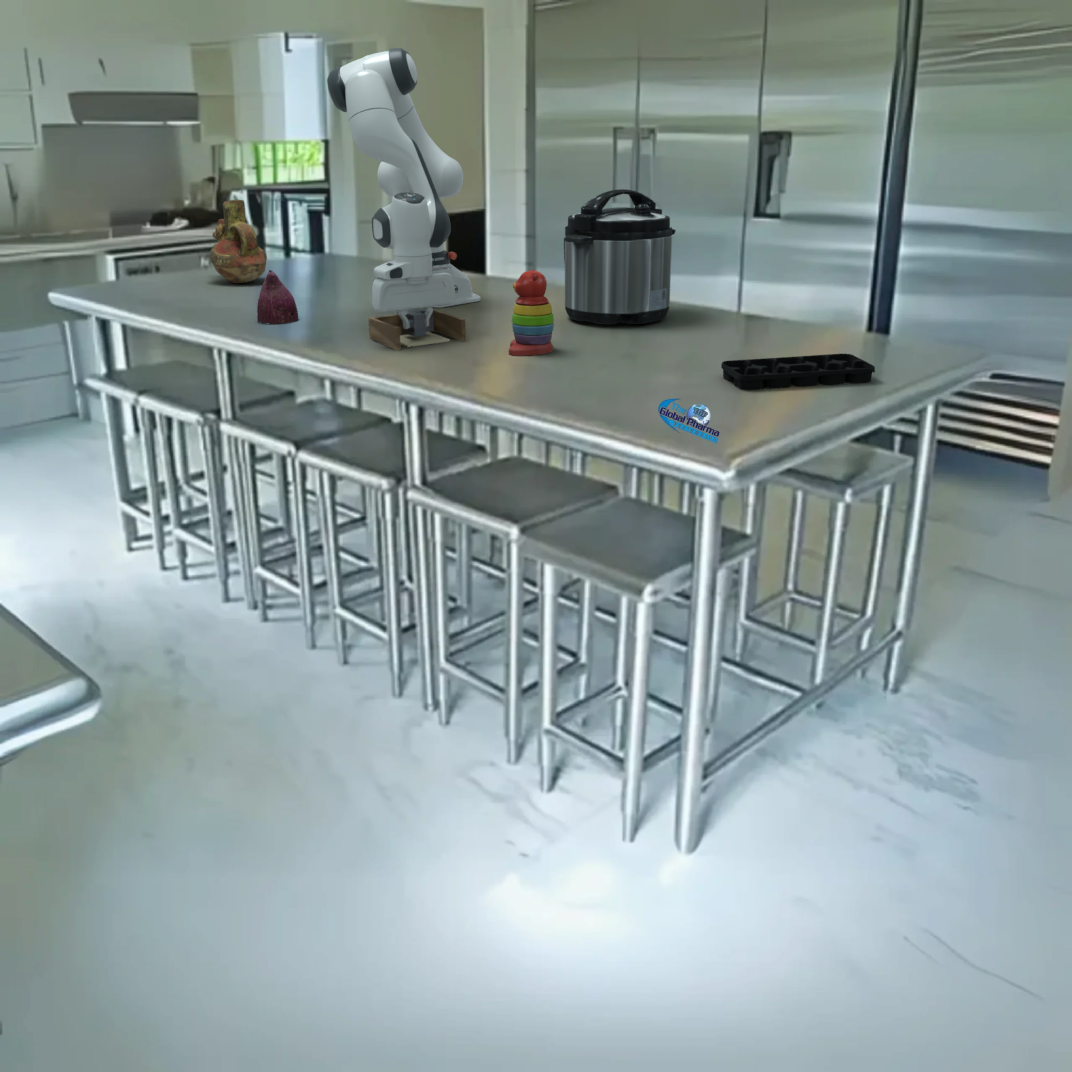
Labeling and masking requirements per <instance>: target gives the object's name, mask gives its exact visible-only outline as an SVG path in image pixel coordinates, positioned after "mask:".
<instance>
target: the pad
mask: <svg viewBox="0 0 1072 1072" xmlns="http://www.w3.org/2000/svg"><path fill="white" fill-rule="evenodd" d="M446 342H451V339H449V338H446V337H444V336H441V335H438V334H435V333H433V332H426V336H419V337H413V336H411V335H400V343H401V346H403V347H406V346H407V348H411V346H412V347H418V346H425V345H432V344H440V343H446Z"/></svg>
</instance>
